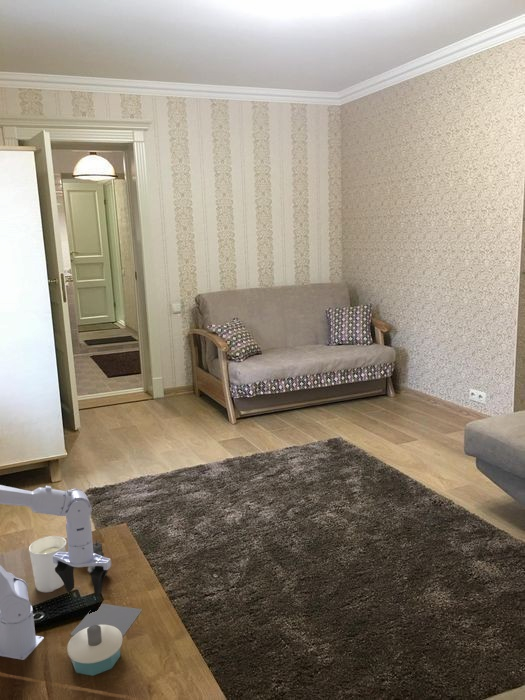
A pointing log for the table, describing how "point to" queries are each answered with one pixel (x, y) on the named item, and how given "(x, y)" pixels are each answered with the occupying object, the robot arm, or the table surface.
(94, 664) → the bowl
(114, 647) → the lid
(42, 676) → the table surface
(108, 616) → the mat
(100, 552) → the salt shaker
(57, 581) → the candle holder
